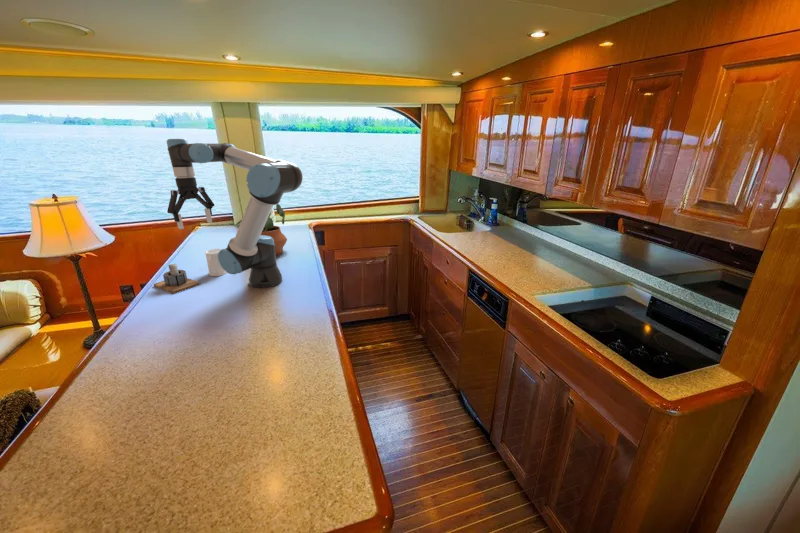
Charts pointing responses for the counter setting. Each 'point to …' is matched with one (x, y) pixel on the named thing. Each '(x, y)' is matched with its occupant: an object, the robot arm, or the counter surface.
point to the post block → (176, 289)
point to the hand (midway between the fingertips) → (196, 225)
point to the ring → (175, 278)
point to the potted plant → (274, 231)
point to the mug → (214, 263)
